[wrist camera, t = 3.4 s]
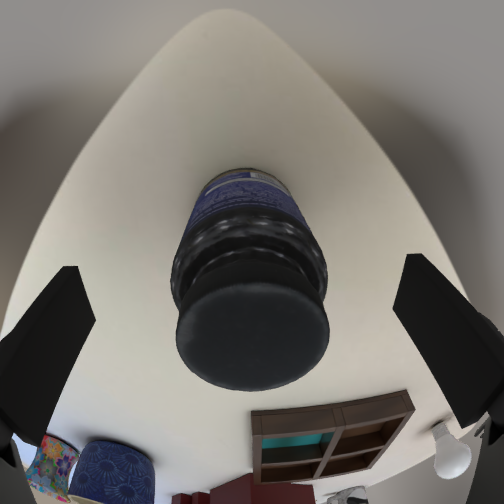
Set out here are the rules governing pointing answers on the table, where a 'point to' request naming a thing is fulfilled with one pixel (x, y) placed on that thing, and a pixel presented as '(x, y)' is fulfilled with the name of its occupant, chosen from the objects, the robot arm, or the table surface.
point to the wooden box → (325, 438)
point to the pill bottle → (249, 286)
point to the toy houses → (251, 494)
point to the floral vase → (52, 468)
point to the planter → (112, 476)
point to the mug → (350, 496)
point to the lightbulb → (449, 453)
